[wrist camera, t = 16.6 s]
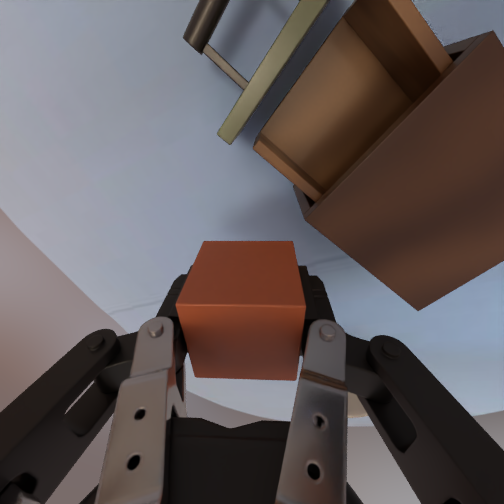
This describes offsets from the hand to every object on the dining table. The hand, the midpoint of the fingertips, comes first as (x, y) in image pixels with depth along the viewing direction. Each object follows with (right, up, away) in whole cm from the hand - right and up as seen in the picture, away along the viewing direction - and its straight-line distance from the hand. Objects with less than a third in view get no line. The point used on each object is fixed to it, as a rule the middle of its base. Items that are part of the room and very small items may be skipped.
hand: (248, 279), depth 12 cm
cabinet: (+15, +9, +14) cm, 23 cm away
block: (0, 0, 0) cm, 0 cm away
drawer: (+6, +16, +9) cm, 19 cm away
